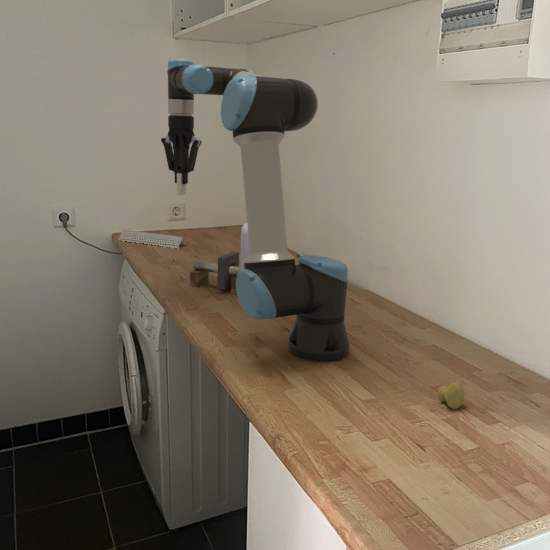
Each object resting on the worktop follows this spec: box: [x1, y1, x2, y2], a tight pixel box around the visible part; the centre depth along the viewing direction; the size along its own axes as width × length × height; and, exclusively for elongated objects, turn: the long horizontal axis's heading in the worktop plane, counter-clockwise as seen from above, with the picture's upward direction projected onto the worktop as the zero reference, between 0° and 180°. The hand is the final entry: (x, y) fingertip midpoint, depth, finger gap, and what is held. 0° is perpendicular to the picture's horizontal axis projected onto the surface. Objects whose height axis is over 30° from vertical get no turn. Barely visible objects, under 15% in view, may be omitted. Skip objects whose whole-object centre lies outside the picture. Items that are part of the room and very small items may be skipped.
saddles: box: [189, 269, 237, 296], centre depth 187 cm, size 18×7×5 cm, turn 67°
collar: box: [217, 251, 240, 290], centre depth 185 cm, size 2×10×10 cm, turn 157°
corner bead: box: [117, 229, 187, 250], centre depth 245 cm, size 29×9×5 cm, turn 71°
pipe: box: [192, 260, 244, 276], centre depth 186 cm, size 18×3×3 cm, turn 67°
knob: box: [437, 382, 465, 410], centre depth 117 cm, size 5×5×5 cm
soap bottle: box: [239, 222, 250, 268], centre depth 209 cm, size 9×7×23 cm
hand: (181, 194), depth 177 cm, fingers closed
